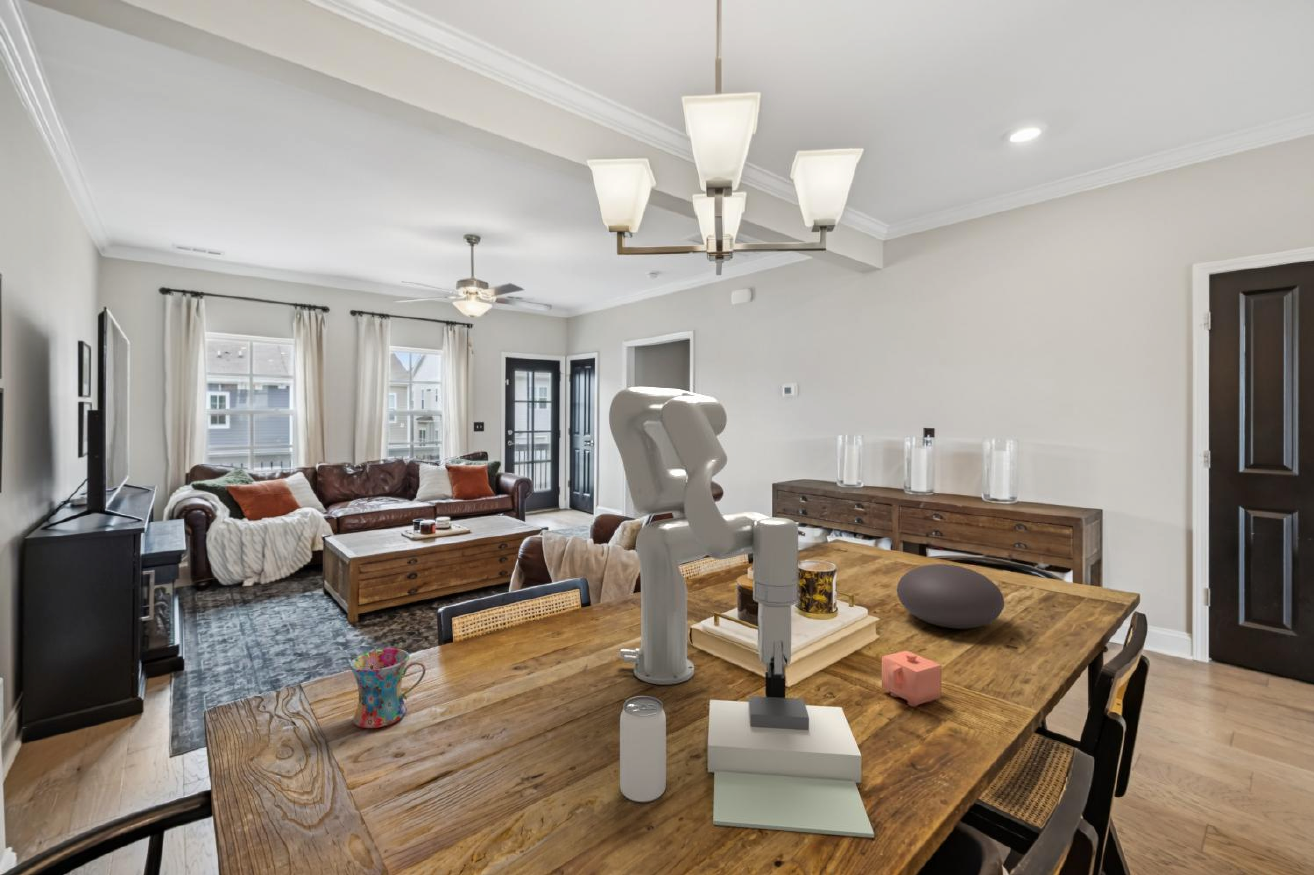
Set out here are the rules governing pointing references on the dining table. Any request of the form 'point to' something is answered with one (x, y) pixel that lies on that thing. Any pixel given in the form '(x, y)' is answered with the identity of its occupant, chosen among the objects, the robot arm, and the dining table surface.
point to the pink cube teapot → (911, 677)
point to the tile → (778, 713)
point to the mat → (789, 804)
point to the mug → (381, 686)
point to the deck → (782, 745)
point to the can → (642, 749)
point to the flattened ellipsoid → (950, 596)
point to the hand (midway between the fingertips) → (775, 697)
